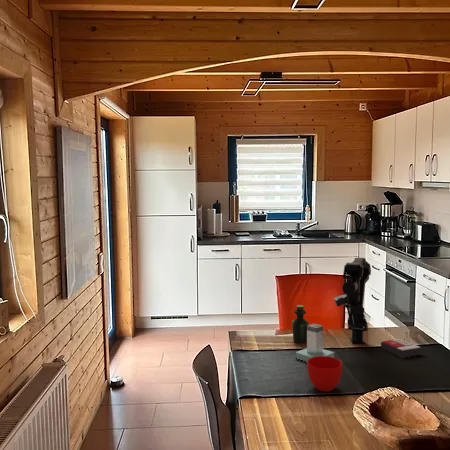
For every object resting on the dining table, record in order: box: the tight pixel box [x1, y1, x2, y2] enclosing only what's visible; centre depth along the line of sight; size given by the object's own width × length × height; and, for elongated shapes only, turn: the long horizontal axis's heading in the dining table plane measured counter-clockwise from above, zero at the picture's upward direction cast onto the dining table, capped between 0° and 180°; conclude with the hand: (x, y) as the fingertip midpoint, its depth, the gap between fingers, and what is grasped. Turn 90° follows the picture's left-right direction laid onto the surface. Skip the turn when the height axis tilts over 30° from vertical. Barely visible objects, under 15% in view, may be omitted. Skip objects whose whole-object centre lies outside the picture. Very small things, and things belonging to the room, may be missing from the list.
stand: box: [295, 347, 335, 363], centre depth 209 cm, size 12×12×3 cm
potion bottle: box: [291, 304, 310, 345], centre depth 232 cm, size 8×8×18 cm
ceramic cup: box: [306, 356, 343, 392], centre depth 181 cm, size 13×17×10 cm
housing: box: [306, 323, 324, 355], centre depth 209 cm, size 5×5×12 cm
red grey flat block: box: [380, 338, 423, 359], centre depth 217 cm, size 11×4×15 cm
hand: (352, 323), depth 218 cm, fingers open, 9 cm apart
